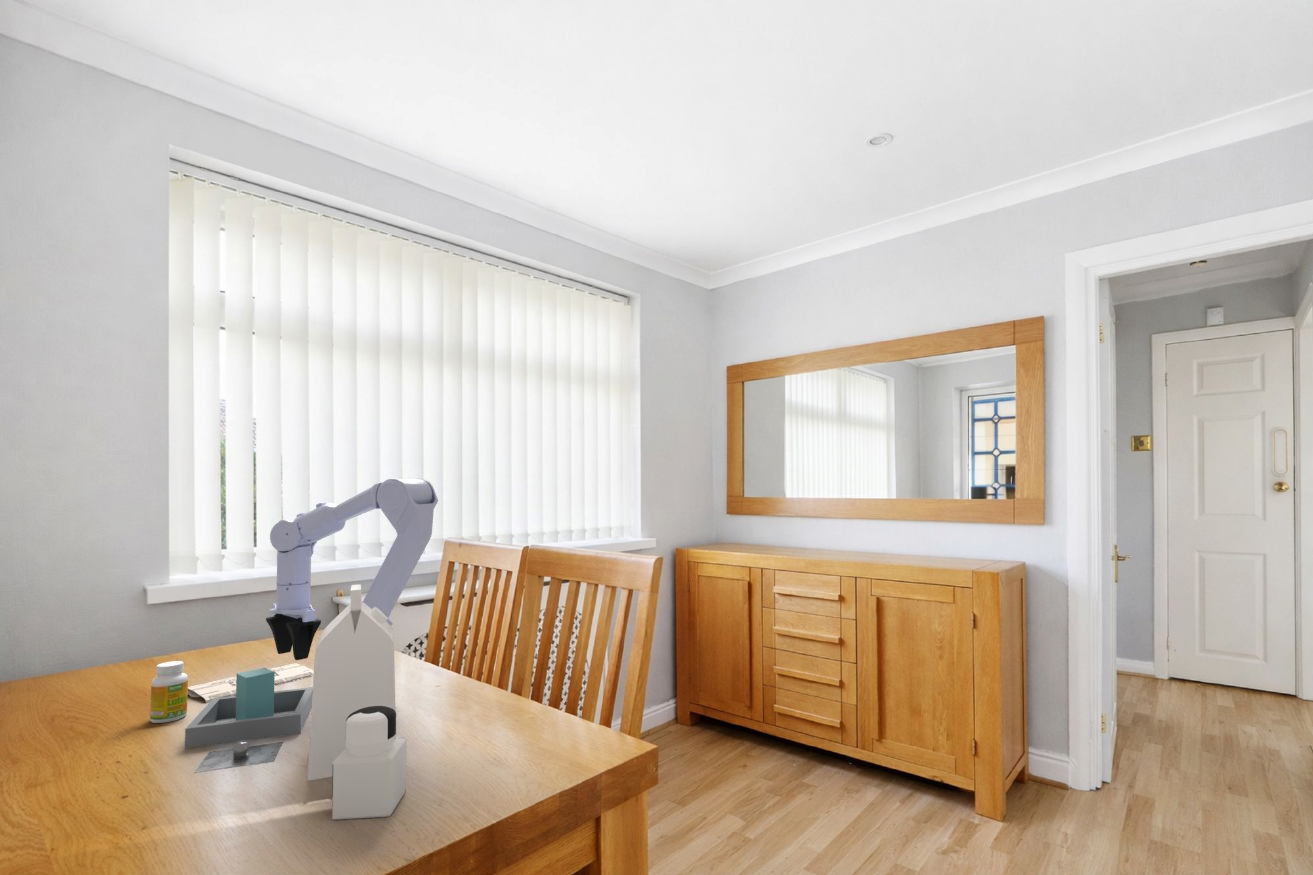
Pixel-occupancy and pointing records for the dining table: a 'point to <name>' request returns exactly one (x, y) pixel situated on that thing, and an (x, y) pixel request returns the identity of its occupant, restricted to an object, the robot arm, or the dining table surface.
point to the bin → (249, 720)
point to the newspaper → (229, 684)
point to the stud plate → (239, 756)
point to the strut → (255, 694)
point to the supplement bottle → (169, 693)
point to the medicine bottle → (369, 766)
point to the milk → (348, 678)
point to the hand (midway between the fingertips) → (292, 655)
